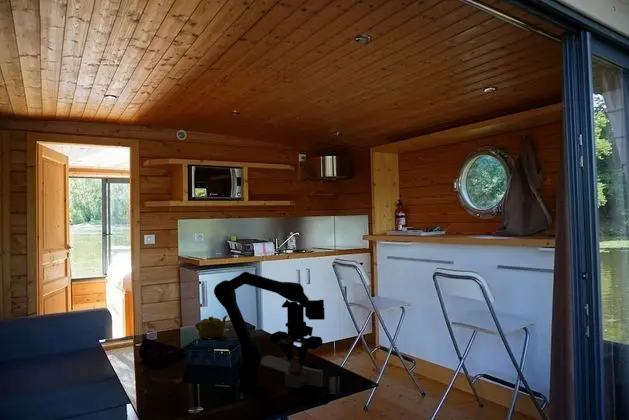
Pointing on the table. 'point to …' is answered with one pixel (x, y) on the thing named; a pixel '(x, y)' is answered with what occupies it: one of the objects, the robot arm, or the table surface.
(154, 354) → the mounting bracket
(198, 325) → the teapot
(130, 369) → the table surface
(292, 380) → the square open holder
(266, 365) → the baseboard molding
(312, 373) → the board
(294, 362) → the rail post
